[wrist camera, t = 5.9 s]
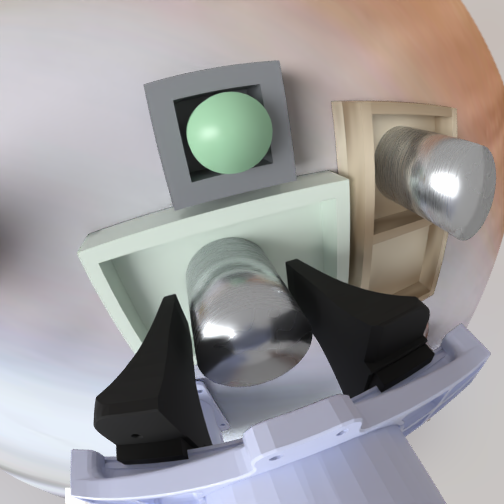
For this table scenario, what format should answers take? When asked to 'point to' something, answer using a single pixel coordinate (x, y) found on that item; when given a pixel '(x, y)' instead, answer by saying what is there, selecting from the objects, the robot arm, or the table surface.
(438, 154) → the cylinder
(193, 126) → the button
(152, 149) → the table surface
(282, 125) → the frame
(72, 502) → the basket
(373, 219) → the divided tray
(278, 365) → the billet
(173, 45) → the table surface
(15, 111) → the table surface
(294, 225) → the pale green tray
